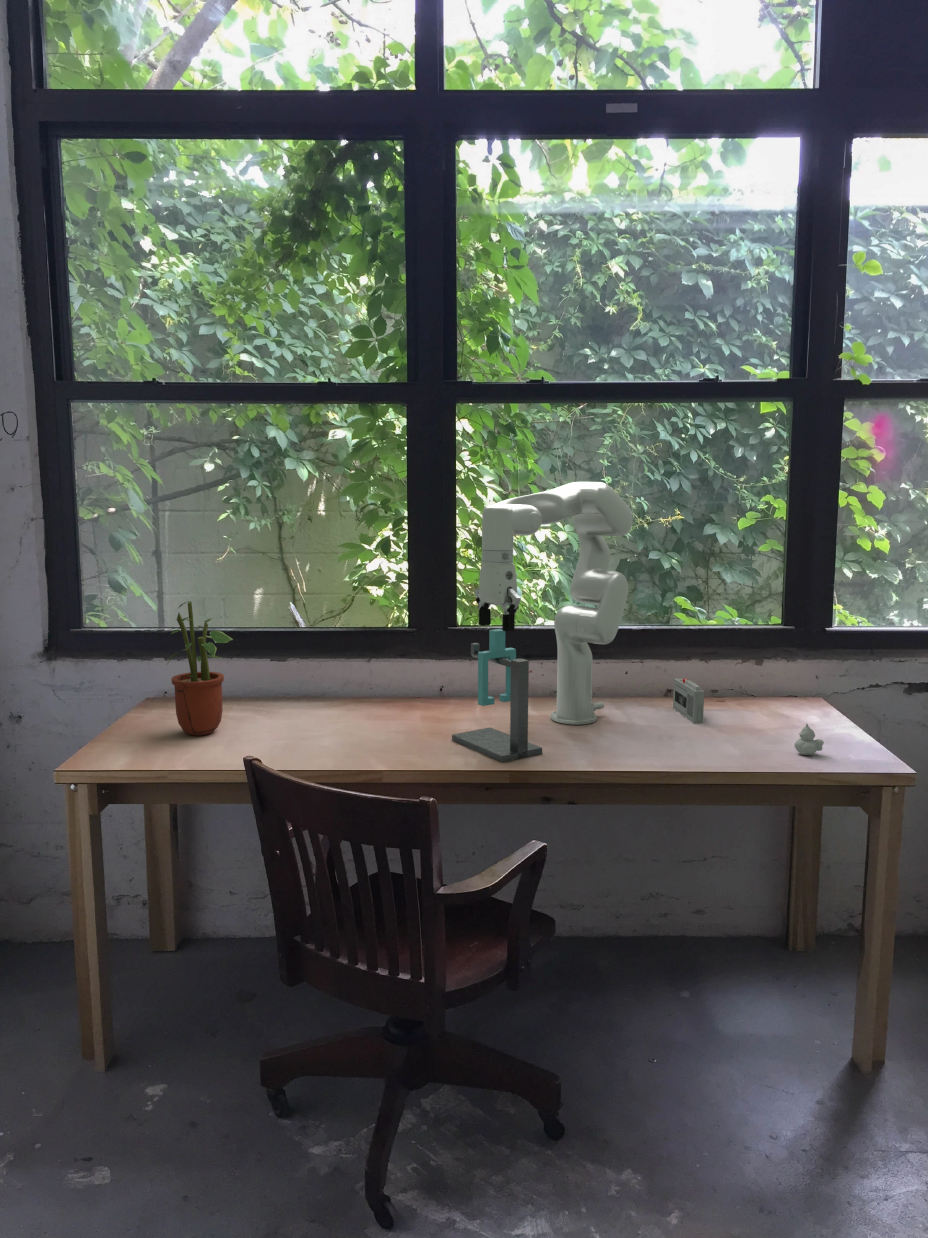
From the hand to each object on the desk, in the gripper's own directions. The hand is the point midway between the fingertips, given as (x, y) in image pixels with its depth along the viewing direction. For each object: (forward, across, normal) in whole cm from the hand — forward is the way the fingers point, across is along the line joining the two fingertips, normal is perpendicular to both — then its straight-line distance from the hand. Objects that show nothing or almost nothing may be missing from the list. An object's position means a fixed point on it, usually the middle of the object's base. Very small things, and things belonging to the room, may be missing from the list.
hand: (496, 627), depth 219 cm
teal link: (+19, 0, -1) cm, 19 cm away
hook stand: (+30, 0, -1) cm, 30 cm away
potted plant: (+31, +56, +55) cm, 85 cm away
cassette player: (+30, -6, -63) cm, 70 cm away
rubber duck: (+30, -47, -60) cm, 82 cm away
